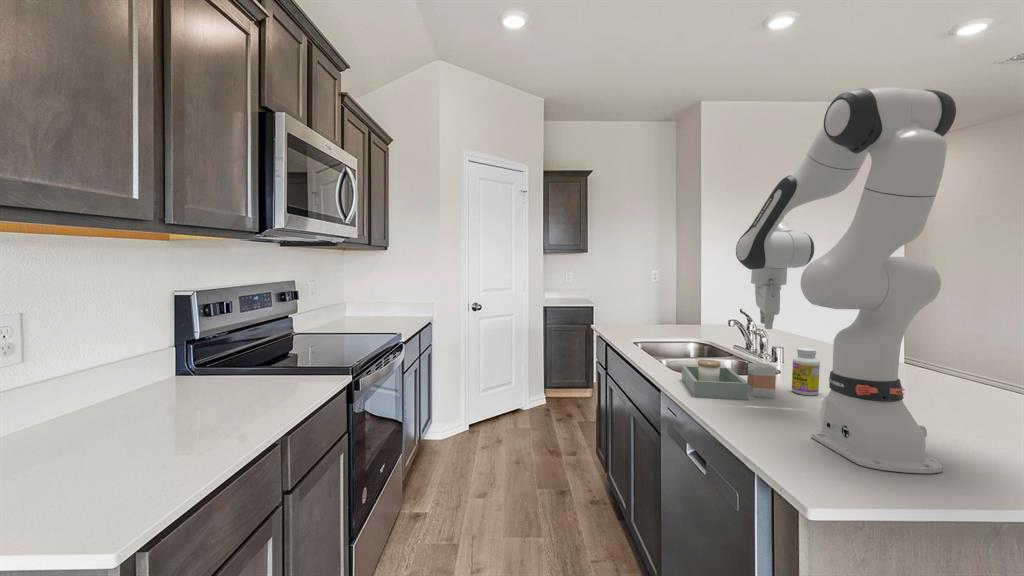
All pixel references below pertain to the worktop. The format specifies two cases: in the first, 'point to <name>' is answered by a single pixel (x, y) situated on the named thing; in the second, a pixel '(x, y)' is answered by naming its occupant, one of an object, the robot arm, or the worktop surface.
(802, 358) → the supplement bottle
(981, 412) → the worktop surface
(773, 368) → the tea tin
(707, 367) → the ceramic jar
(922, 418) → the worktop surface
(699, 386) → the tray
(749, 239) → the robot arm
